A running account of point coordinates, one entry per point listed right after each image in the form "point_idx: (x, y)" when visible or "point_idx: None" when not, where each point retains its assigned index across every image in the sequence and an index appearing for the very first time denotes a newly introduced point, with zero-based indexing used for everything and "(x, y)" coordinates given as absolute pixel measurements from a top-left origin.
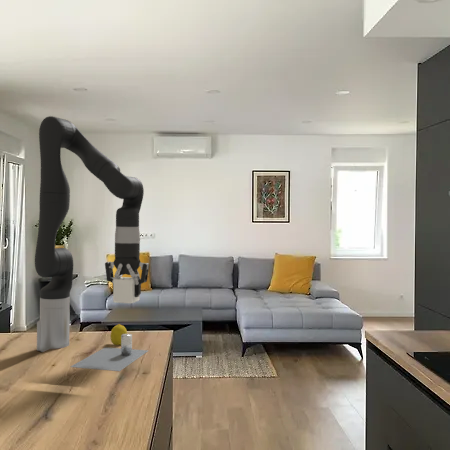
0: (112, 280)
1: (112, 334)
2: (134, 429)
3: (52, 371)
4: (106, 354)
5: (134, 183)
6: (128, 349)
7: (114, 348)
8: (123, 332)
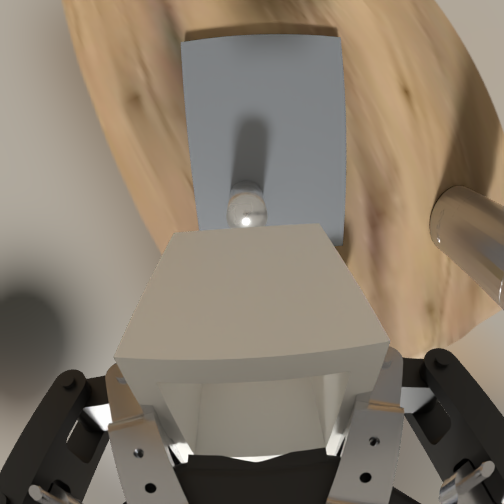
0: (405, 374)
1: None
2: None
3: (379, 42)
4: (305, 175)
5: None
6: (233, 191)
7: None
8: None
